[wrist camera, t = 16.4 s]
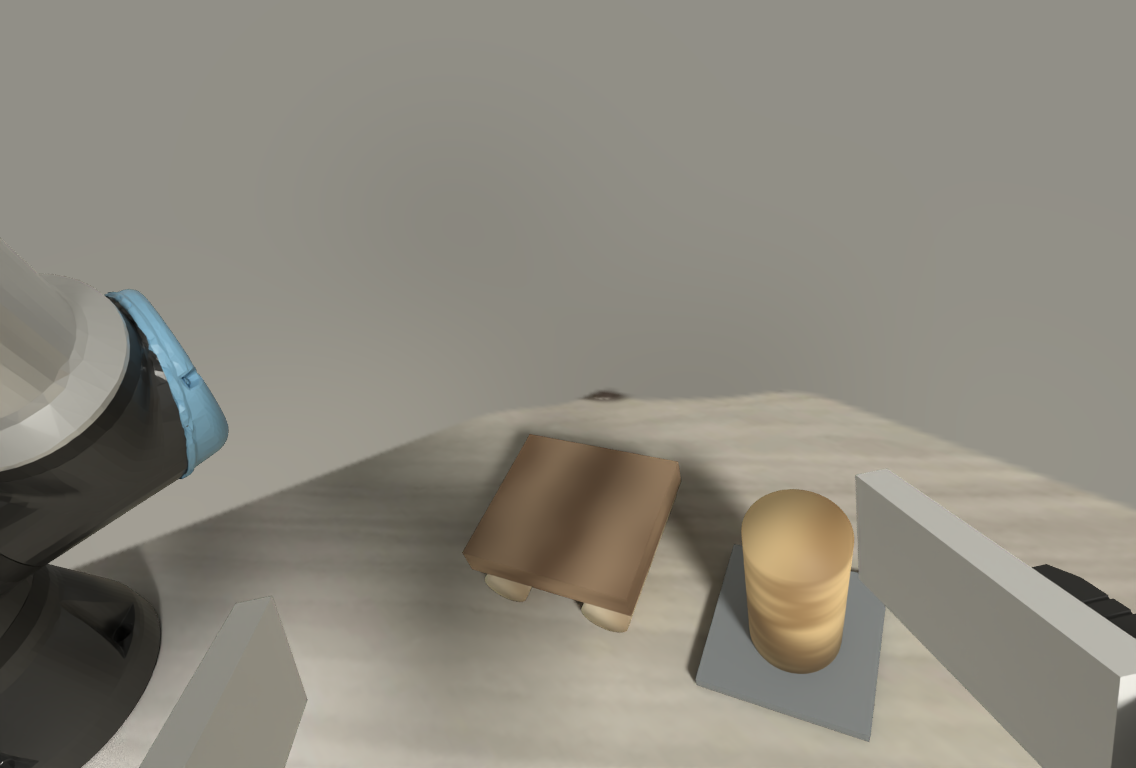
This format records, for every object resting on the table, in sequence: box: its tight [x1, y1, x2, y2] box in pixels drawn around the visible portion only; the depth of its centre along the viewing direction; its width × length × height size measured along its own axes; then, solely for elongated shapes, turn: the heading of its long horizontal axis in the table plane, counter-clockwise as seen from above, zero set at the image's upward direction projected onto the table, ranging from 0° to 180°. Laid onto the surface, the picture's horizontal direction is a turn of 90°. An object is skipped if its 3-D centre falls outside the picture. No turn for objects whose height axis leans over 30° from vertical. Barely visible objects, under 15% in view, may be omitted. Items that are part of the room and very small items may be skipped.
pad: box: [696, 544, 885, 742], centre depth 39 cm, size 9×9×1 cm
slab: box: [462, 434, 681, 632], centre depth 44 cm, size 11×10×5 cm
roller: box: [741, 489, 854, 674], centre depth 35 cm, size 5×5×10 cm
